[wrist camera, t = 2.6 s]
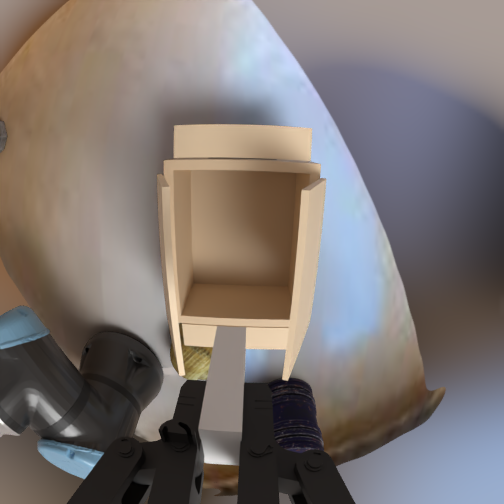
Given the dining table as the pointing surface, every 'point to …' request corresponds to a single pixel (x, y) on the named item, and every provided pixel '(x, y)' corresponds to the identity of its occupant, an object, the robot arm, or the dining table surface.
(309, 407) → the dark blue barrel
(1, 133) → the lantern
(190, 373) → the seashell
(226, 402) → the robot arm
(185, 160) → the carton
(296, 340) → the flap
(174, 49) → the dining table surface
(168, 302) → the flap
